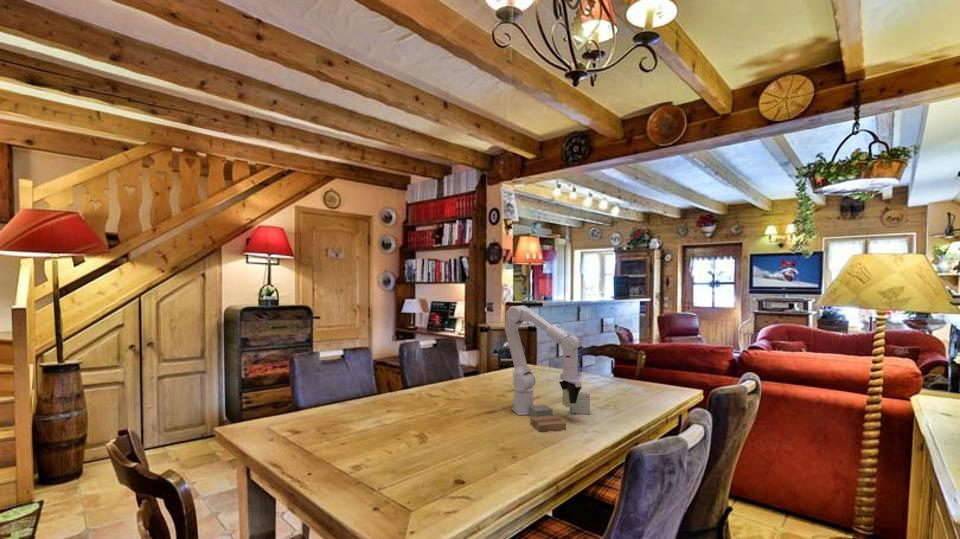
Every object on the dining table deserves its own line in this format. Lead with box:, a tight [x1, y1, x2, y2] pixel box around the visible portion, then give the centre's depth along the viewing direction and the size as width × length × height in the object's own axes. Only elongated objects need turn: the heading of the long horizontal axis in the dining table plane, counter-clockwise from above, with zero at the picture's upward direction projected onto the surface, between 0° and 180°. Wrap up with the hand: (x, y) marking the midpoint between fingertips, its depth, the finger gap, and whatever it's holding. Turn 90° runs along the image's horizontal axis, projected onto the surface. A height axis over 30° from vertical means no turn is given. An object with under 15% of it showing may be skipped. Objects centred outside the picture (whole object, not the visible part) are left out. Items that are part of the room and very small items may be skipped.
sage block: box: [562, 389, 578, 408], centre depth 172 cm, size 4×4×6 cm
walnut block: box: [530, 415, 567, 433], centre depth 163 cm, size 10×10×3 cm
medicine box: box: [569, 390, 591, 415], centre depth 181 cm, size 8×4×9 cm, turn 84°
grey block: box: [528, 404, 554, 418], centre depth 175 cm, size 7×7×4 cm
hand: (570, 401), depth 172 cm, fingers closed on sage block, 4 cm apart
